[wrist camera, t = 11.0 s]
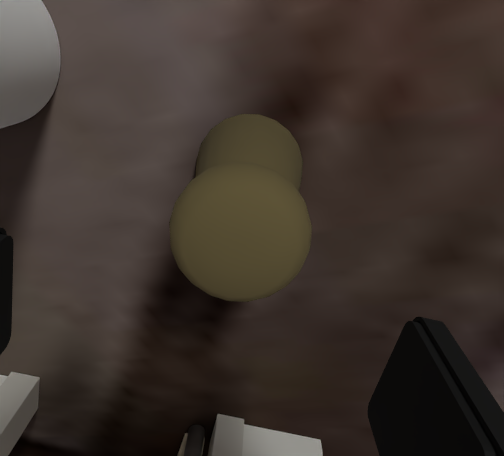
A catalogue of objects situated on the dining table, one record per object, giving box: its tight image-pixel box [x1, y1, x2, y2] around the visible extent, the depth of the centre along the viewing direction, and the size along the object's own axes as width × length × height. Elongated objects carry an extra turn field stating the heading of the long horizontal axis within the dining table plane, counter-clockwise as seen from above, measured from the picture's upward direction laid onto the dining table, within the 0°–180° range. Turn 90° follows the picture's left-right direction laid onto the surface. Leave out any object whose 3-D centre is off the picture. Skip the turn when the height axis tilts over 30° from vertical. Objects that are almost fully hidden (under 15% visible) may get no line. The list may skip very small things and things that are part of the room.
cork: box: [169, 114, 312, 302], centre depth 19 cm, size 6×6×11 cm
